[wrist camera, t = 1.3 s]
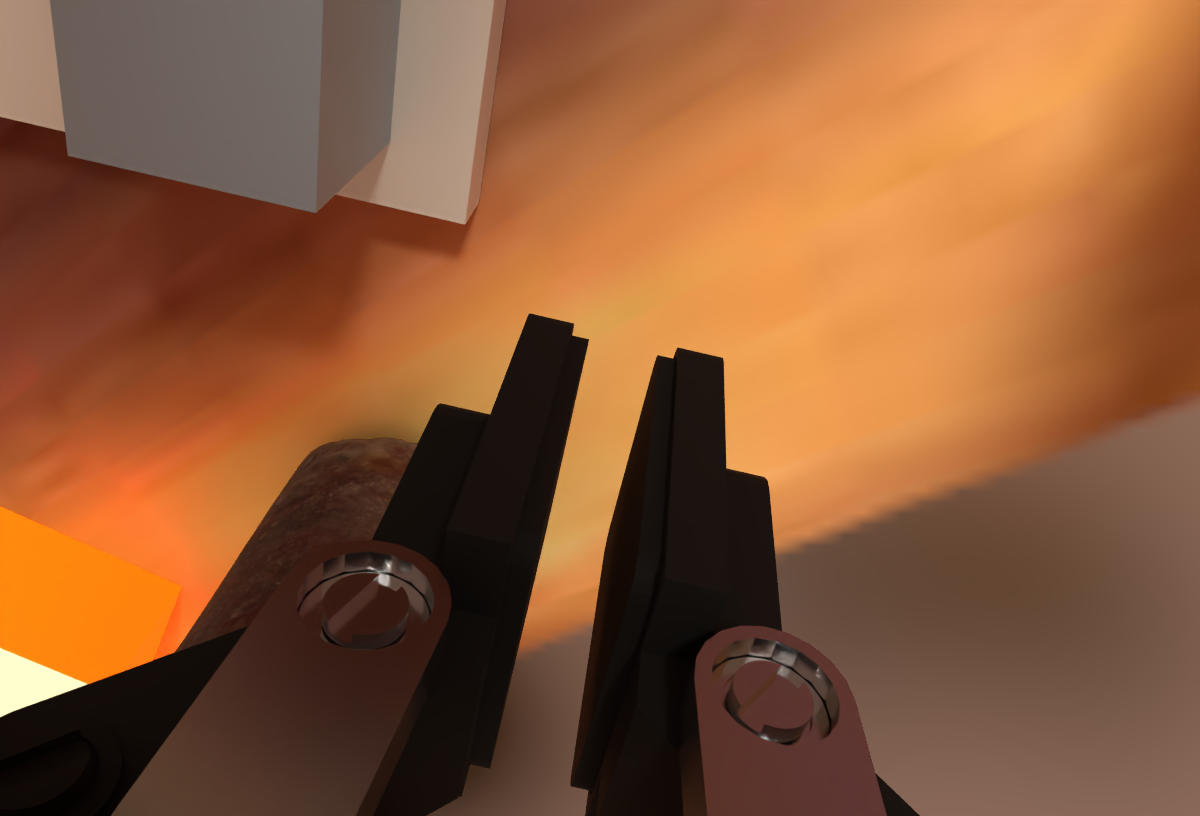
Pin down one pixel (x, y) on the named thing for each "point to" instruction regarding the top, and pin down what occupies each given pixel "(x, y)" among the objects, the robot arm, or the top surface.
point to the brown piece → (306, 525)
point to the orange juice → (71, 613)
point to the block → (230, 90)
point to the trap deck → (420, 106)
